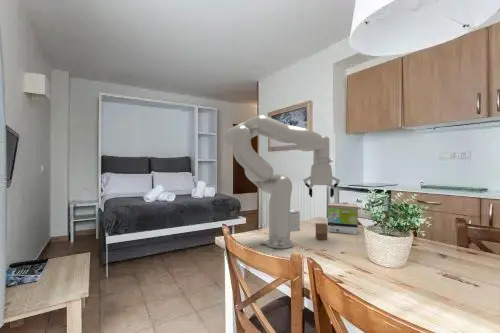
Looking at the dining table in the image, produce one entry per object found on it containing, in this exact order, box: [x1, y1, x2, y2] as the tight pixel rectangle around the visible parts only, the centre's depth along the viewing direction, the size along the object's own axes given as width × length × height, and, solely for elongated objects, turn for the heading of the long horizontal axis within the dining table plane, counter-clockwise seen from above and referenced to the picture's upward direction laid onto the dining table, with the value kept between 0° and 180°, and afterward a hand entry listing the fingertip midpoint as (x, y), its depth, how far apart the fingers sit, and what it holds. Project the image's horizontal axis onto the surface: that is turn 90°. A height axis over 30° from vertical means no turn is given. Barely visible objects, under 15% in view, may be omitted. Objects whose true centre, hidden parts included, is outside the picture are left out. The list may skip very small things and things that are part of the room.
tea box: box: [327, 201, 359, 235], centre depth 142 cm, size 15×10×15 cm, turn 73°
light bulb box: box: [290, 207, 301, 232], centre depth 148 cm, size 11×7×11 cm, turn 25°
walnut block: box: [315, 222, 328, 241], centre depth 128 cm, size 5×5×7 cm
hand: (321, 196), depth 128 cm, fingers open, 9 cm apart
